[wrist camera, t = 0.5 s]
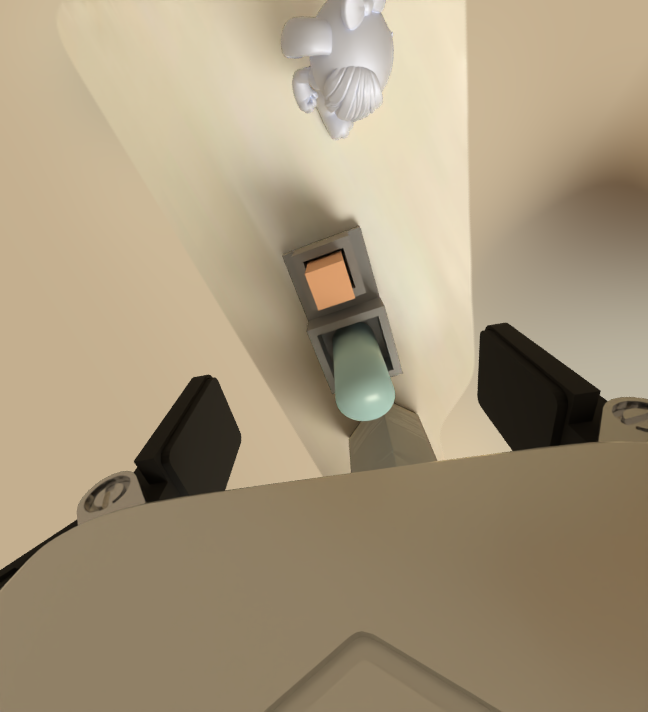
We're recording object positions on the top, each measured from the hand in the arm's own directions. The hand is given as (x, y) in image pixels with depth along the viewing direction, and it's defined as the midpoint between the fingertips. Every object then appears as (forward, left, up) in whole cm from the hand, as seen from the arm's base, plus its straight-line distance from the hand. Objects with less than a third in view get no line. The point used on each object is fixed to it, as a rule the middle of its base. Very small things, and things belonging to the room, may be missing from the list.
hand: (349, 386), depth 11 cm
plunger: (-1, 0, -20) cm, 20 cm away
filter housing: (-3, -3, -23) cm, 24 cm away
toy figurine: (+11, +8, -24) cm, 27 cm away
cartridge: (-5, -7, -22) cm, 24 cm away
